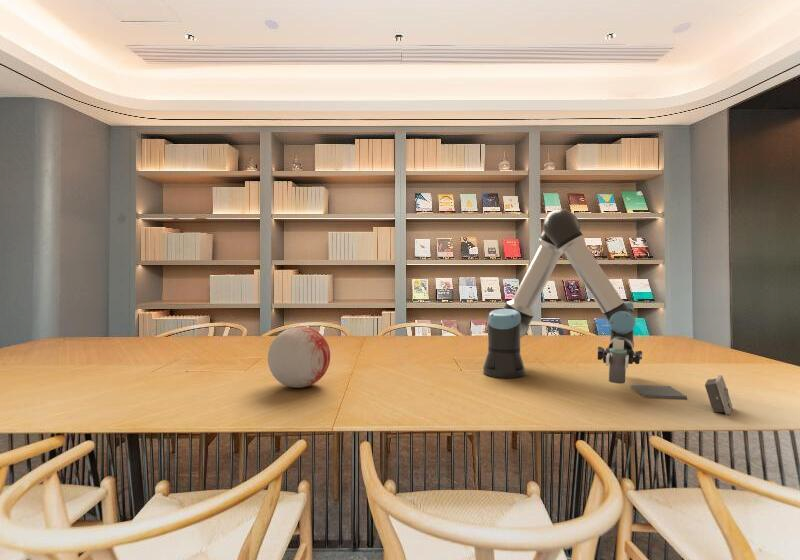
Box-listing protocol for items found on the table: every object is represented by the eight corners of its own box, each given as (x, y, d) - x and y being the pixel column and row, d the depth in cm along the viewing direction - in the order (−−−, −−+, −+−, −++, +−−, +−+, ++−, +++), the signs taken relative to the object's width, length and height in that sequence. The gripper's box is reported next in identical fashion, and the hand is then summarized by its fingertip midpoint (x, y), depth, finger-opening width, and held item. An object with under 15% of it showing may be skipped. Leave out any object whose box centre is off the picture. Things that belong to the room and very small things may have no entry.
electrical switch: (729, 416, 127) (726, 381, 127) (707, 414, 130) (704, 380, 130) (732, 407, 134) (729, 375, 134) (710, 406, 137) (707, 374, 137)
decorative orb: (301, 376, 170) (301, 321, 170) (342, 384, 159) (342, 325, 158) (253, 389, 153) (252, 328, 152) (295, 399, 142) (295, 333, 141)
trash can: (607, 382, 145) (609, 340, 144) (608, 378, 149) (610, 338, 148) (625, 384, 142) (627, 341, 142) (625, 380, 147) (627, 339, 146)
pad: (644, 397, 144) (645, 394, 144) (630, 387, 156) (631, 384, 156) (687, 399, 142) (687, 396, 142) (669, 388, 154) (669, 386, 154)
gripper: (649, 363, 157) (649, 378, 137) (592, 357, 165) (584, 370, 145) (650, 341, 157) (650, 353, 136) (593, 336, 165) (585, 346, 144)
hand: (616, 362), depth 141 cm, fingers closed on trash can, 4 cm apart
